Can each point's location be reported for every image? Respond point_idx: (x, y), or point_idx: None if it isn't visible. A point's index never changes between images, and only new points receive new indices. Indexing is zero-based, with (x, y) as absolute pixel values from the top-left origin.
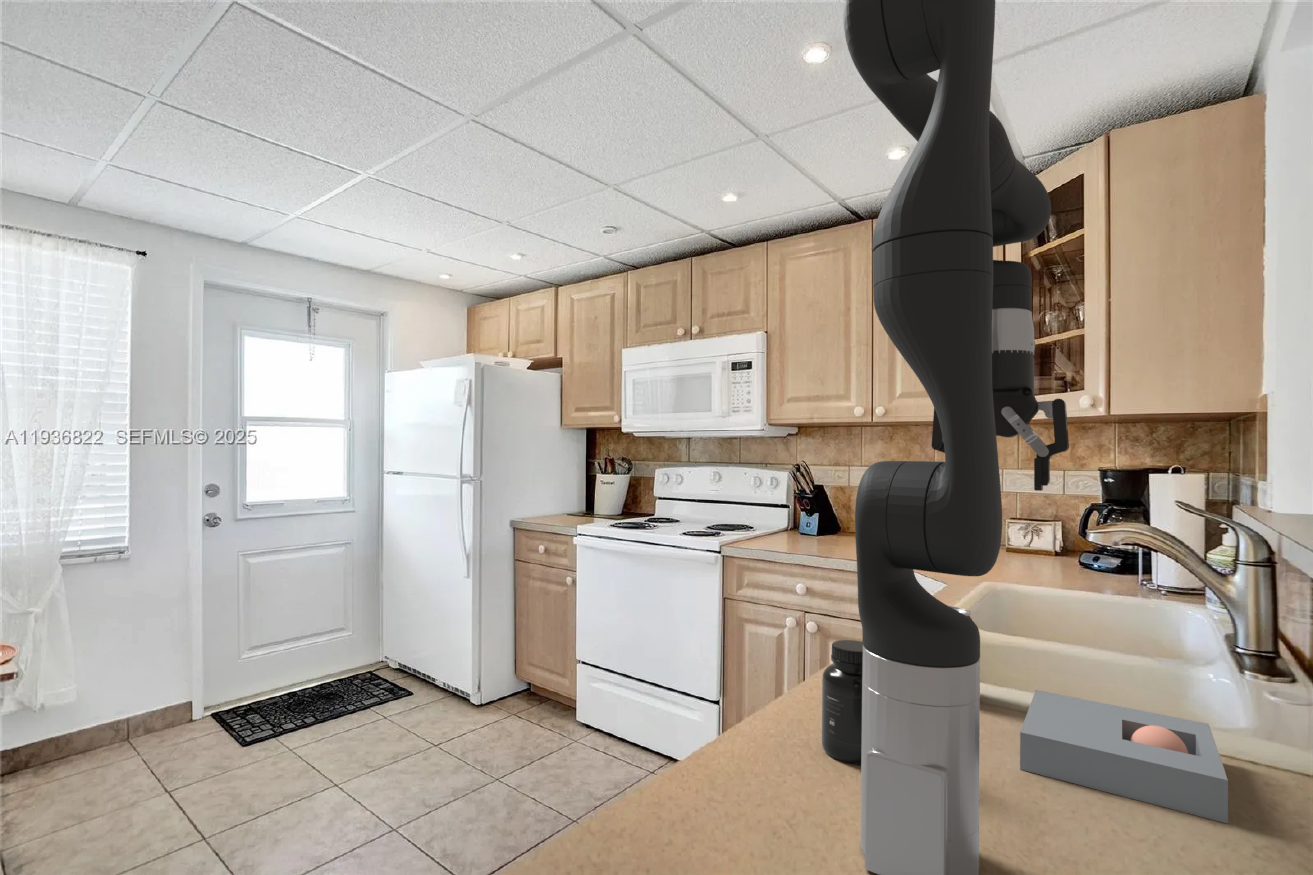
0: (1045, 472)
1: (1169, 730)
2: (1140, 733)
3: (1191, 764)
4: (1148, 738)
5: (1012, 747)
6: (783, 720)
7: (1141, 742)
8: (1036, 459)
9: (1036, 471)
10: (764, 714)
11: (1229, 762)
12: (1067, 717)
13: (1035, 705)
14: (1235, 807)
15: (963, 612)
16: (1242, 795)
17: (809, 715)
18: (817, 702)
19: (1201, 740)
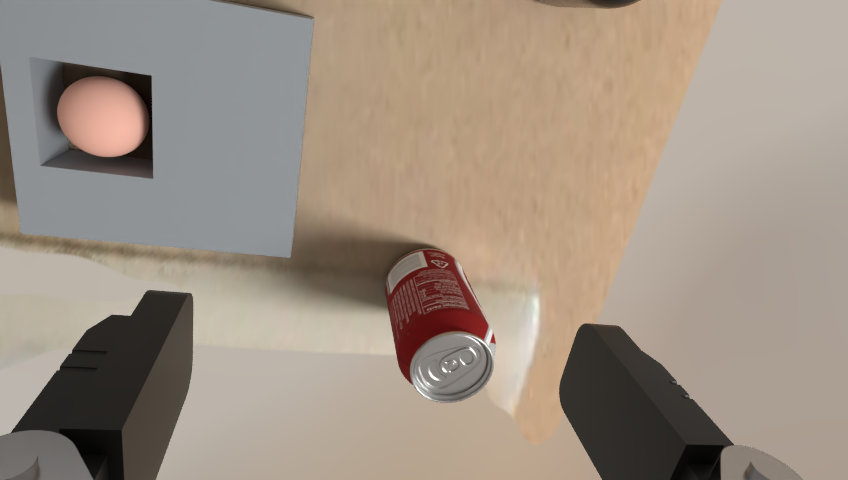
0: (82, 371)
1: (73, 128)
2: (122, 113)
3: (43, 6)
4: (110, 96)
5: (326, 105)
6: (672, 29)
7: (124, 98)
8: (107, 422)
9: (141, 351)
10: (703, 39)
11: None
12: (238, 140)
13: (289, 174)
14: None
15: (423, 385)
16: None
17: (633, 73)
18: (622, 138)
19: (30, 141)
